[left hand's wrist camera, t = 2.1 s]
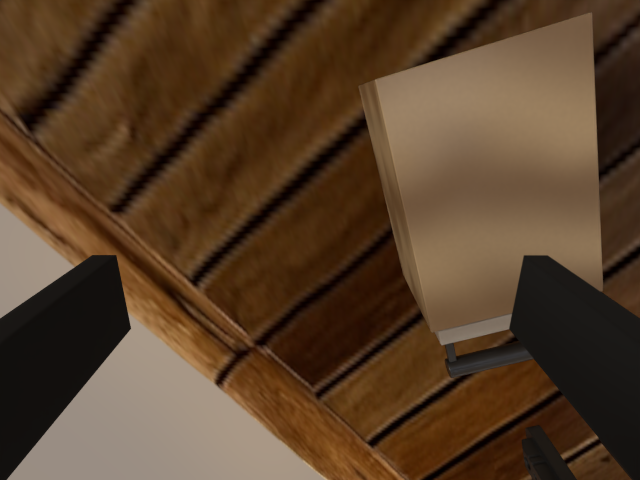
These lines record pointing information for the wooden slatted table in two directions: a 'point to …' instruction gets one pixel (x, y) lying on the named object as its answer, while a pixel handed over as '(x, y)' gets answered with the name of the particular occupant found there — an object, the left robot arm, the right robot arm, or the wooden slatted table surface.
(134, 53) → the wooden slatted table surface
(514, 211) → the cabinet
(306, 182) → the wooden slatted table surface
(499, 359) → the drawer
